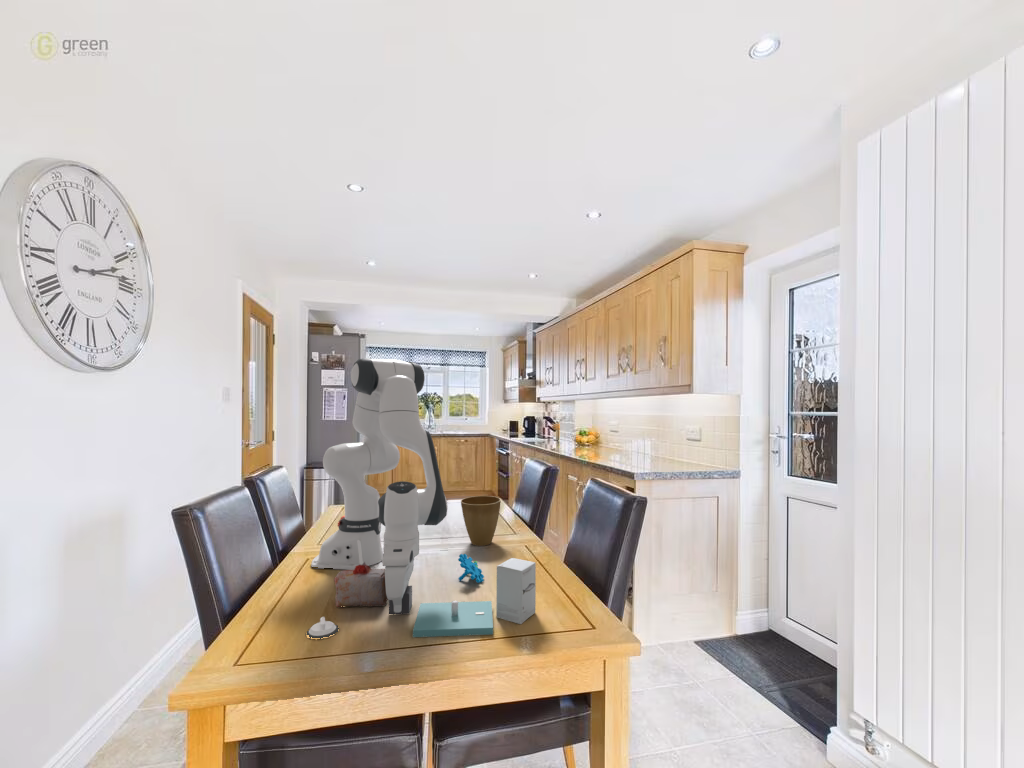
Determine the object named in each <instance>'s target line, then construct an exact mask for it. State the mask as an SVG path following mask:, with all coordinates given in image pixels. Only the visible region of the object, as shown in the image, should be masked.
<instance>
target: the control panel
mask: <svg viewBox="0 0 1024 768" xmlns="http://www.w3.org/2000/svg"><path fill="white" fill-rule="evenodd" d="M492 602H493V601H491V600H485V601H482V600H481V601H477V600H475V601H458V600H452V601H451V602H450V601H449V602H445V601H444V602H423V603H422V602H421V603H420V604H419V607H418V612H417V615H416V618H415V621H414V626H413V627H412V628H413V630H412V638H430V637H457V636H461V637H462V636H483V635H484V636H485V635H486V636H487V635H494V621H493V619H494V618H493V604H492Z"/></svg>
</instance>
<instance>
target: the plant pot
mask: <svg viewBox="0 0 1024 768" xmlns="http://www.w3.org/2000/svg"><path fill="white" fill-rule="evenodd" d="M501 501H502V499H501V498H500V497H498V496H493V495H476V496H469V497H465V498H462V499H461V500H460V506H461V512H462V517H463V520H464V526H465V528H466V531H467V535H468V538H469V540H470V542H471V545H473V546H476V547H477V546H478V547H485V546H488V545H490V544H492V542H493V539H494V536H495V533H496V529H497V525H498V522H499V521H498V520H499V516H500V515H499V514H500V510H501V503H502V502H501Z"/></svg>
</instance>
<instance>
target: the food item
mask: <svg viewBox="0 0 1024 768" xmlns="http://www.w3.org/2000/svg"><path fill="white" fill-rule="evenodd" d="M355 567H356V568H355V569H354V570H345V569H342V570H339V572H337V574H336V576H335V577H334V581H333V582H334V584H335V591H336V593H335V607H336V606H337V607H340V608H344V607H343V606H346V607H345V608H348V607H347V606H352V607H384V606H386V605H387V604H388V602H389V600H388V599H387V596H386V586H385V568H371V566H370V565H369V566H368V565H366V564H365V562H364V563H363V564H362V565H358V566H355ZM341 606H342V607H341ZM337 607H336V608H337Z"/></svg>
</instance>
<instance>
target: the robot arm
mask: <svg viewBox="0 0 1024 768" xmlns="http://www.w3.org/2000/svg"><path fill="white" fill-rule="evenodd" d="M350 371H351V372H350V380H351V386H352V387H353V388H354V390H355V391H356V392H358V393H357V395H356V401H355V406H354V411H353V417H352V422H351V423H352V427H353V428H354V430H355V431H356V432H357V433H359V434H361V436H364V440H363V441H360V442H345V443H339V444H336V445H333V446H330V447H328V448H327V449H326V450H325V451H324V454H323V457H322V465H323V469H324V471H325V473H326V474H327V475H328V476H329V477H331V478H332V479H334V480H335V481H336V482H337V484H338V485H339V486H340V488H341V491H342V493H343V500H344V501H343V502H344V515H342V516H341V517H340V519H339V520H338V522H337V527H338V530H336V531H335V532H334V533H332V534H330V535H329V536H328V538H326V539H325V540H324V541H323V542H322V544H321V545H320V549H319V554H317V556H315V557H314V558H313V559H312V561H311V564H310V565H311V568H312V567H318V568H317V569H324V568H333V569H332V570H354V569H355V568H356V567H355V566H358V565H362V564H363V563H364V562H365V564H366V565H368V566H369V567H370V566H373V565H376V564H378V563H380V562H382V563H381V564H382V566H383V567H384V569H385V586H386V596H387V599H388V601H389V600H393V605H394V612H395V613H398V612H401V610H402V598H403V595H404V593H405V590H406V587H407V586H409V583H410V580H411V577H412V573H413V571H414V566H415V564H414V561H415V558H416V557H417V556H418V555H419V554H420V531H419V527H418V526H437V525H439V524H440V523H442V522H443V520H444V519H445V518H446V517H447V515H448V501H447V498H446V495H445V491H444V488H443V484H442V478H441V474H440V468H439V463H438V459H437V454H436V448H435V445H434V441H433V438H432V435H431V433H430V432H429V431H427V430H426V429H425V428H424V427H423V425H422V423H421V421H420V413H419V412H420V411H419V410H420V409H419V408H420V407H419V400H418V397H419V396H418V394H419V393H420V392H421V391H422V390H423V387H424V385H425V380H426V379H425V377H426V376H425V371H424V369H423V367H422V365H420V364H419V363H416V362H412V361H409V362H407V361H403V360H399V359H393V358H389V359H387V358H385V359H384V358H370V357H365V358H359V359H357V360H356V361H355V362H354V364H353V365H352V368H351V370H350ZM399 447H401V448H403V449H406V450H409V451H411V452H413V453H415V454H417V455H418V456H419V457H420V460H421V461H422V466H423V473H424V477H425V482H426V483H425V484H426V487H425V488H418V487H417V485H416V484H415V483H414V482H410V481H403V480H402V481H400V480H399V481H396V482H393V483H390V484H389V485H388V486H386V491H385V493H383V494H382V496H381V495H380V492H379V491H378V490H377V489H376V488H375V487H373V486H372V485H369V484H367V483H366V481H365V476H367V475H375V474H376V475H377V474H383V473H386V472H389V471H391V470H394V469H396V468H397V467H398V465H399V463H400V459H401V453H400V450H399ZM382 526H384V528H385V529H384V534H383V548H382V540H381V531H382Z"/></svg>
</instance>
